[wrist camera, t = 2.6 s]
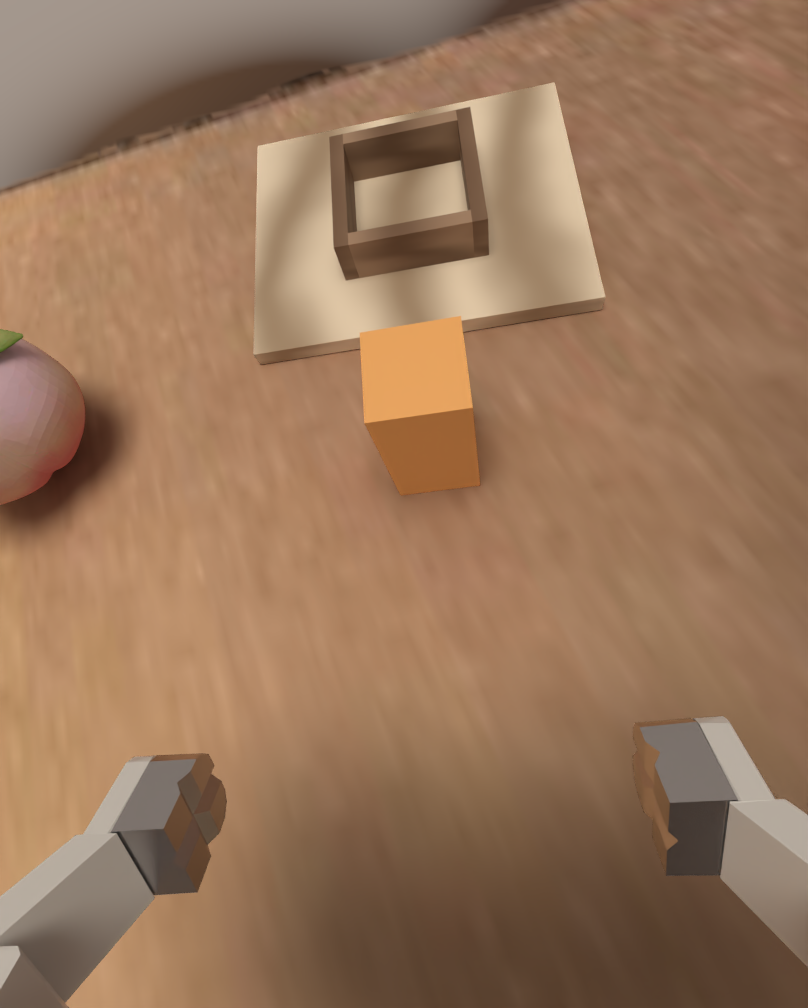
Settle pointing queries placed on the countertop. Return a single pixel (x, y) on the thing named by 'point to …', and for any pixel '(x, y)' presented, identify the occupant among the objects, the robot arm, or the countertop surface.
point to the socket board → (420, 226)
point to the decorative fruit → (35, 417)
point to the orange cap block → (420, 405)
